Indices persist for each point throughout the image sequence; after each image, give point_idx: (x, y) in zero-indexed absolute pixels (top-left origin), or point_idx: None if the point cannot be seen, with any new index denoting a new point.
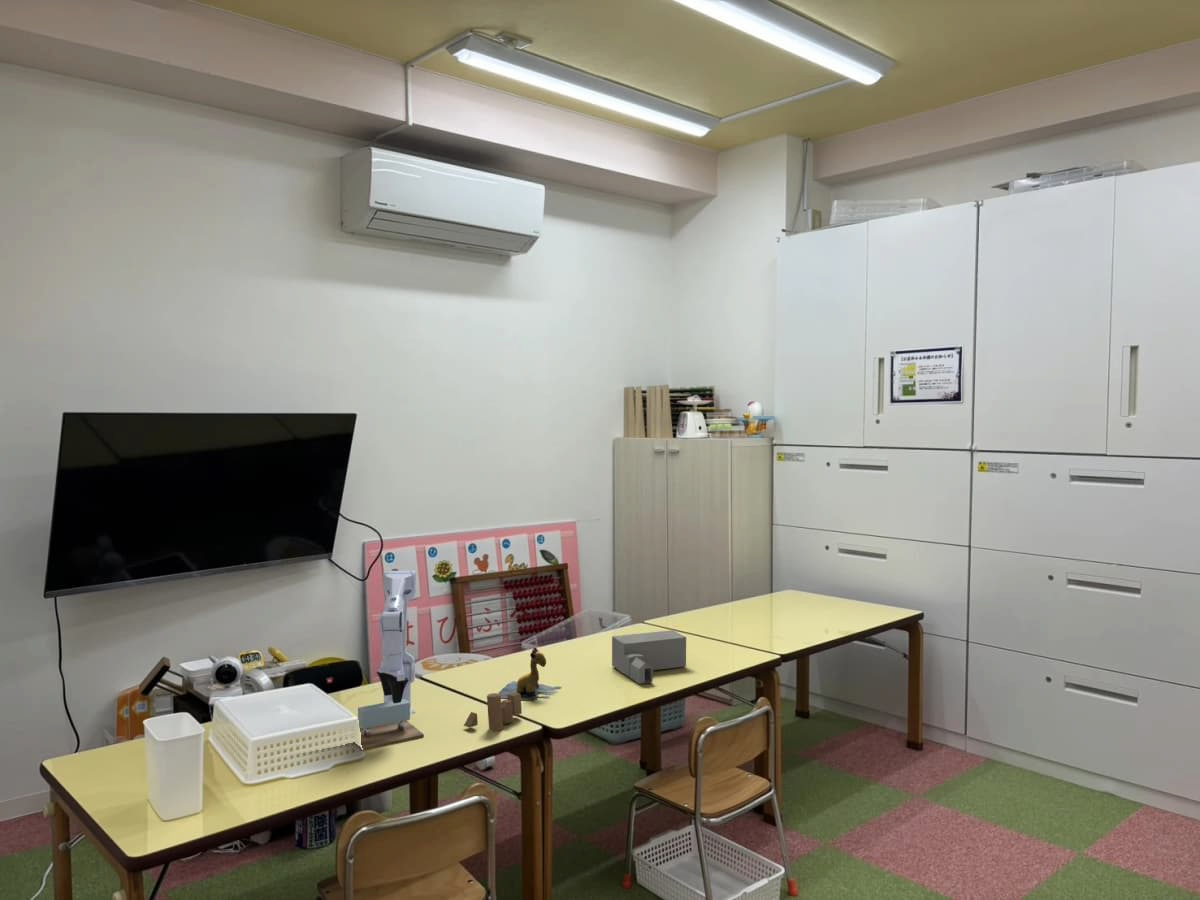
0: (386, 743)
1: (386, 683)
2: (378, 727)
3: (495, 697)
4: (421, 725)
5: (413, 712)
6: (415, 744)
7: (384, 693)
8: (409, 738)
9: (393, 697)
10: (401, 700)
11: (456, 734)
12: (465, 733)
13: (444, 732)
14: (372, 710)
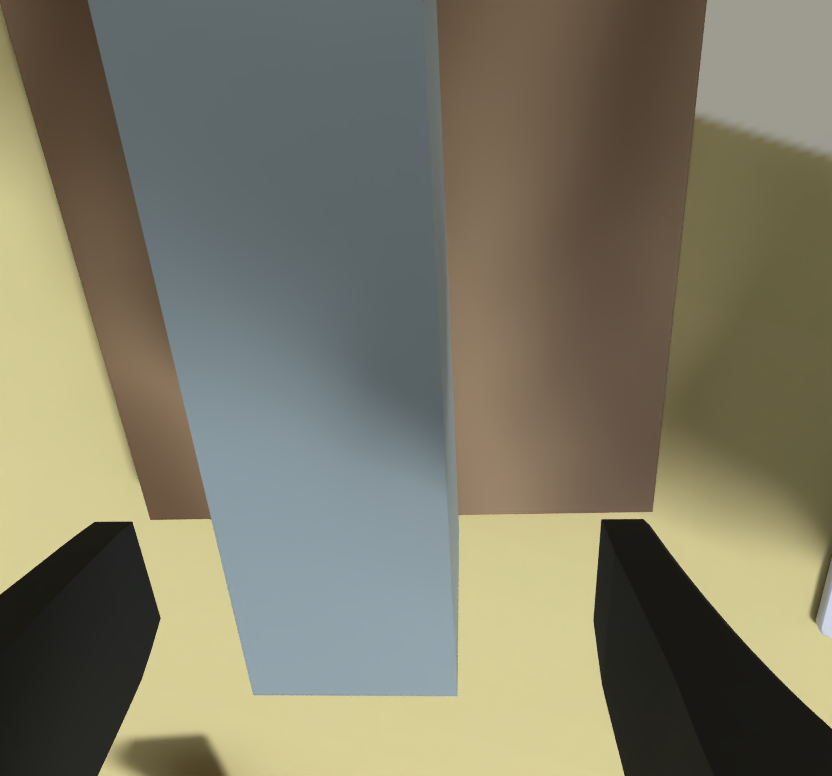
0: (50, 146)
1: (671, 768)
2: (567, 208)
3: None
4: (485, 572)
5: (820, 618)
6: (44, 397)
7: (607, 544)
8: (119, 391)
9: (1, 596)
10: (406, 645)
11: (161, 690)
12: (158, 734)
13: (237, 647)
14: (120, 94)
